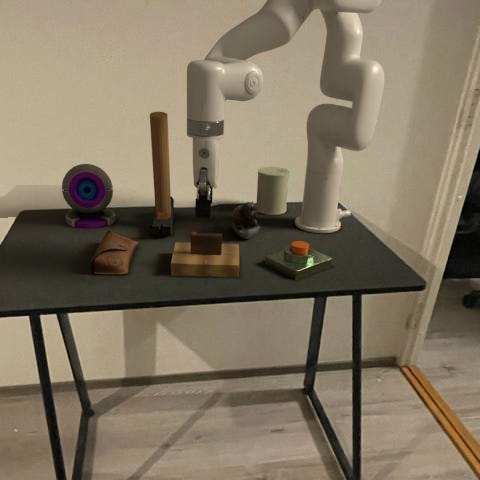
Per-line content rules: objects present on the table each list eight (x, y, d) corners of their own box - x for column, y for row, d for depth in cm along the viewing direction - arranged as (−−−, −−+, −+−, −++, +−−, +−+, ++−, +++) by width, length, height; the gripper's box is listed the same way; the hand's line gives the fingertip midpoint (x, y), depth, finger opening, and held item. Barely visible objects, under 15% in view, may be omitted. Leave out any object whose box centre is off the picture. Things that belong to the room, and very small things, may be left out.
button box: (300, 252, 132) (301, 237, 130) (331, 266, 126) (333, 251, 123) (264, 264, 125) (266, 248, 123) (295, 280, 119) (297, 263, 117)
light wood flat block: (238, 255, 129) (238, 243, 127) (238, 277, 119) (239, 264, 117) (175, 253, 128) (175, 241, 127) (171, 275, 118) (170, 262, 116)
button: (299, 246, 126) (300, 239, 125) (311, 252, 123) (312, 245, 122) (287, 250, 123) (288, 243, 123) (299, 256, 121) (300, 249, 120)
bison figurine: (227, 226, 145) (228, 190, 140) (252, 225, 147) (254, 189, 141) (236, 243, 135) (238, 205, 130) (263, 242, 137) (266, 204, 131)
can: (290, 214, 156) (293, 173, 149) (259, 215, 154) (261, 173, 148) (282, 204, 163) (285, 164, 157) (252, 205, 162) (254, 165, 156)
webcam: (65, 229, 139) (57, 171, 131) (66, 213, 149) (59, 158, 142) (116, 227, 142) (111, 170, 134) (114, 211, 152) (110, 157, 145)
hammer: (171, 247, 137) (167, 132, 117) (151, 246, 137) (143, 131, 117) (174, 207, 152) (171, 99, 132) (157, 207, 152) (150, 99, 132)
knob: (221, 251, 123) (222, 232, 120) (221, 255, 121) (221, 235, 119) (191, 250, 123) (190, 231, 120) (190, 254, 121) (190, 234, 119)
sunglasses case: (130, 273, 117) (112, 248, 114) (103, 287, 119) (85, 263, 115) (140, 241, 133) (124, 219, 129) (116, 254, 134) (100, 232, 131)
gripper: (223, 138, 101) (220, 224, 109) (224, 121, 116) (221, 198, 124) (183, 136, 101) (183, 222, 109) (189, 119, 116) (189, 197, 124)
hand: (204, 209), depth 117 cm, fingers open, 9 cm apart
